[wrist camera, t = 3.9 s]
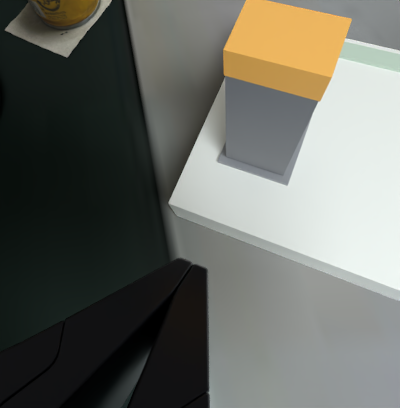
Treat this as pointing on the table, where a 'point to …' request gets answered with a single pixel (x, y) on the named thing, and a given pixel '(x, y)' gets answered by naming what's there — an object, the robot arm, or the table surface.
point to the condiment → (57, 22)
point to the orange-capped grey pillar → (276, 78)
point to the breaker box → (315, 179)
